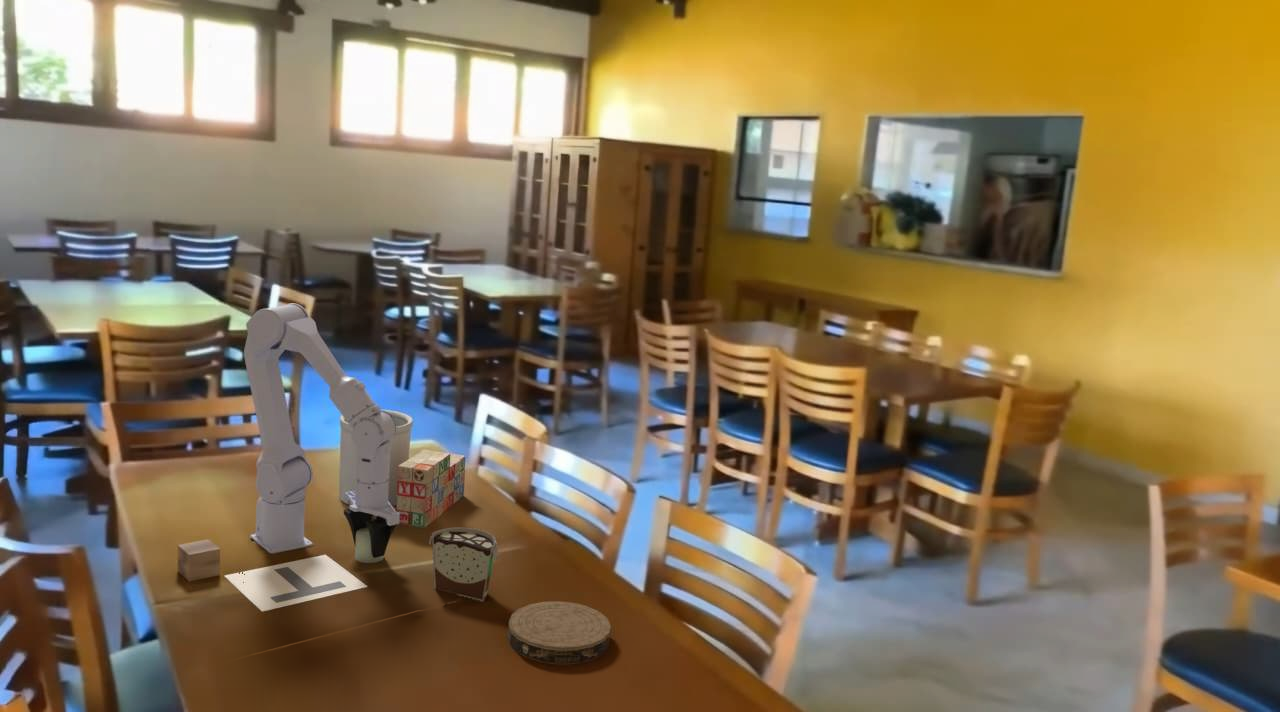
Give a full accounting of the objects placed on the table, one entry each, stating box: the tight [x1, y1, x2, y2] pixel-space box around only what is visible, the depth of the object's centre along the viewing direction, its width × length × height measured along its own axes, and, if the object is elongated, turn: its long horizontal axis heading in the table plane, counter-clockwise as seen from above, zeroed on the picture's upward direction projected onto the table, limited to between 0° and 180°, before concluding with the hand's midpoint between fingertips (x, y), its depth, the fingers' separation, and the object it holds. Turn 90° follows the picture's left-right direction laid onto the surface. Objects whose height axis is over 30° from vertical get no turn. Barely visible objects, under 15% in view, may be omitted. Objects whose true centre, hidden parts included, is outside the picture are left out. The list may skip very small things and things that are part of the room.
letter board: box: [224, 554, 368, 613], centre depth 167 cm, size 16×18×1 cm
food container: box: [428, 527, 499, 602], centre depth 170 cm, size 12×6×10 cm, turn 71°
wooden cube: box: [177, 538, 221, 583], centre depth 167 cm, size 5×5×5 cm
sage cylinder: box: [354, 528, 385, 564], centre depth 179 cm, size 5×5×5 cm
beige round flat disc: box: [507, 600, 612, 665], centre depth 155 cm, size 16×16×3 cm
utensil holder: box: [338, 409, 414, 507], centre depth 209 cm, size 15×15×18 cm
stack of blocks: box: [395, 449, 466, 528], centre depth 206 cm, size 21×6×12 cm, turn 169°
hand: (369, 551), depth 179 cm, fingers closed on sage cylinder, 5 cm apart
